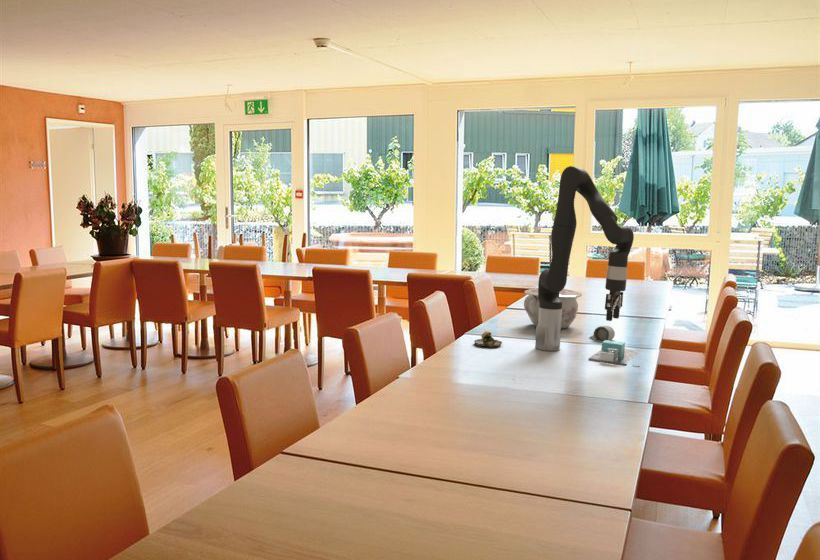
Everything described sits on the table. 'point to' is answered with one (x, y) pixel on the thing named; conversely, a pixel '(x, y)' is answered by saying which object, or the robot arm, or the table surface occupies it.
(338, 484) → the table surface
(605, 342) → the block
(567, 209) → the robot arm
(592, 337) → the ceramic mug
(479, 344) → the mottled brown knobbed disc
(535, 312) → the chamber pot
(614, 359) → the base
